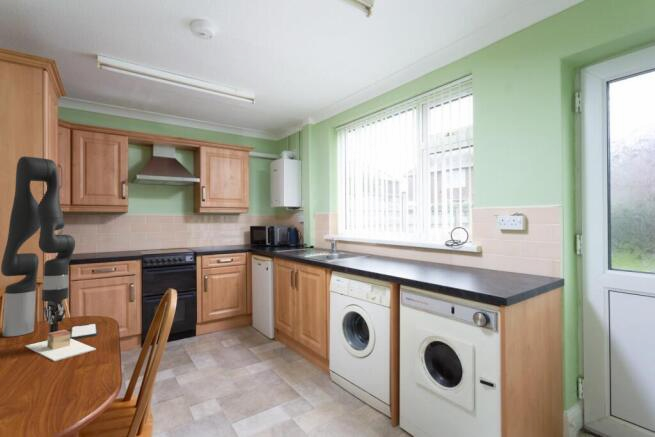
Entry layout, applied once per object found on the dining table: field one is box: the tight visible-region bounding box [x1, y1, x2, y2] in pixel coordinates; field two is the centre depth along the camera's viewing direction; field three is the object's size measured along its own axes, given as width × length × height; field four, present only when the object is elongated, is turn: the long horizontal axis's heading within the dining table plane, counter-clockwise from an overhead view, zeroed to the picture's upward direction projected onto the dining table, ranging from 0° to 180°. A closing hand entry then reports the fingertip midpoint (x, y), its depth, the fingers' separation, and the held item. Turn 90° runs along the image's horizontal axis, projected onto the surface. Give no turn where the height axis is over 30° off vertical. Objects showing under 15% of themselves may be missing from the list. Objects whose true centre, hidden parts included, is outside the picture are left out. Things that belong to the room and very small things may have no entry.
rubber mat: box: [25, 338, 97, 362], centre depth 114 cm, size 25×12×1 cm, turn 60°
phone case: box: [70, 323, 98, 340], centre depth 132 cm, size 9×2×16 cm
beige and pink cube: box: [47, 329, 71, 350], centre depth 115 cm, size 5×5×5 cm
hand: (53, 333), depth 117 cm, fingers closed
